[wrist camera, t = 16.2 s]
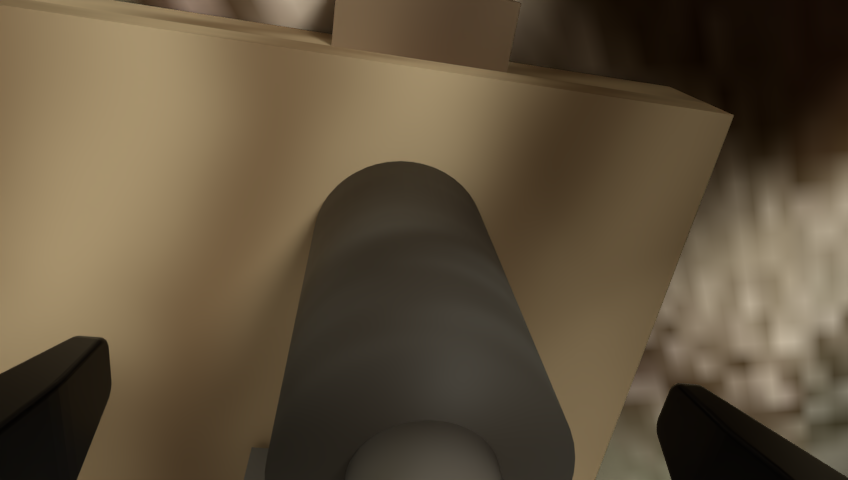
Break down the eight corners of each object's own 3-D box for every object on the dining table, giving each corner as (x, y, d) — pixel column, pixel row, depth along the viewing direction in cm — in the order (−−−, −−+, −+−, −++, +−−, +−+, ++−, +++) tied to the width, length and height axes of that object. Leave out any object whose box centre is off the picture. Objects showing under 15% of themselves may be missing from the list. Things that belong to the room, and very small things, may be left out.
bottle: (499, 173, 13) (725, 559, 5) (466, 321, 15) (591, 801, 7) (320, 150, 13) (221, 540, 4) (307, 307, 14) (215, 810, 6)
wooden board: (688, 28, 15) (760, 45, 13) (523, 531, 23) (544, 612, 21) (-279, -136, 12) (-475, -164, 10) (-92, 504, 20) (-169, 595, 18)
